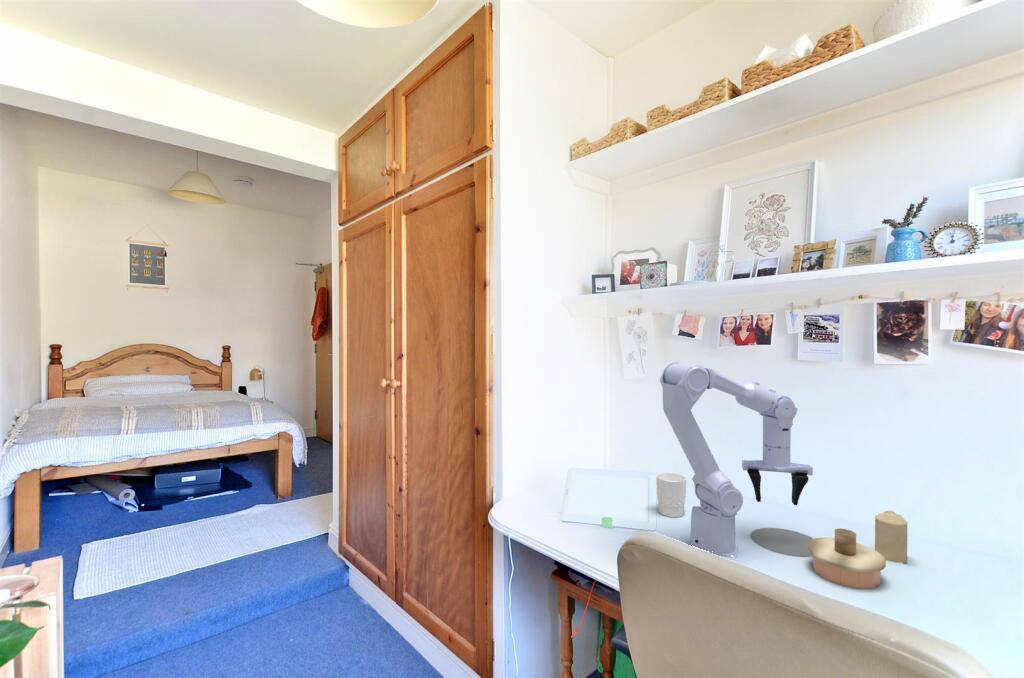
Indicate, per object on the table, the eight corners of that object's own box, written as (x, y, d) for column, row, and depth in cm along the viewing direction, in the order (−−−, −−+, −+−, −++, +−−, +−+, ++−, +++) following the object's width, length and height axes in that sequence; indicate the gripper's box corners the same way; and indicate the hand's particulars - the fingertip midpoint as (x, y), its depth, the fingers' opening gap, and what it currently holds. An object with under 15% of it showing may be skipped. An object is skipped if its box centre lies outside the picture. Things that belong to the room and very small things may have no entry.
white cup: (689, 519, 124) (689, 482, 124) (658, 517, 126) (658, 480, 125) (683, 508, 132) (683, 472, 132) (654, 506, 134) (654, 471, 133)
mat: (749, 549, 107) (749, 548, 107) (750, 525, 120) (750, 523, 120) (828, 564, 100) (828, 562, 100) (819, 536, 113) (819, 535, 113)
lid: (808, 561, 94) (808, 537, 94) (807, 536, 105) (807, 515, 105) (891, 578, 87) (891, 553, 87) (880, 549, 98) (880, 527, 98)
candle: (875, 549, 107) (875, 506, 106) (906, 557, 103) (907, 512, 103) (874, 559, 102) (874, 513, 102) (907, 567, 99) (907, 520, 99)
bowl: (816, 581, 94) (816, 561, 93) (810, 557, 103) (810, 539, 103) (885, 595, 88) (885, 574, 88) (872, 568, 98) (872, 550, 98)
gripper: (745, 447, 109) (745, 504, 109) (817, 451, 105) (816, 511, 105) (740, 440, 116) (740, 494, 116) (807, 444, 111) (807, 500, 112)
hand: (776, 502), depth 111 cm, fingers open, 7 cm apart
